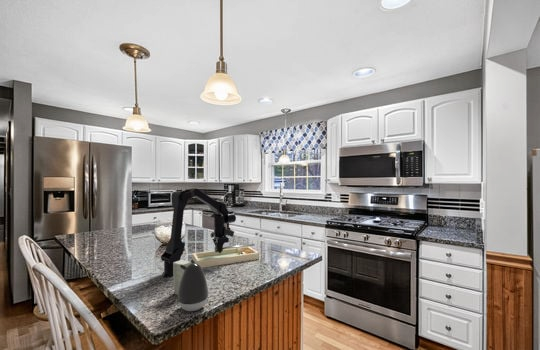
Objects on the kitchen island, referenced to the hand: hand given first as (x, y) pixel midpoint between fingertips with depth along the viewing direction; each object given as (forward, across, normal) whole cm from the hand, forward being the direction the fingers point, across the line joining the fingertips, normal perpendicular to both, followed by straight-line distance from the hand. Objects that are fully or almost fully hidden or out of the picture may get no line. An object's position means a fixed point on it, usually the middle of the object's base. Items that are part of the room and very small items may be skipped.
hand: (219, 252), depth 142 cm
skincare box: (+4, -36, +24) cm, 43 cm away
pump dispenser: (+4, -50, +22) cm, 55 cm away
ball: (+2, 0, -17) cm, 17 cm away
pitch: (+4, -1, -4) cm, 5 cm away
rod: (+3, 0, -9) cm, 10 cm away
